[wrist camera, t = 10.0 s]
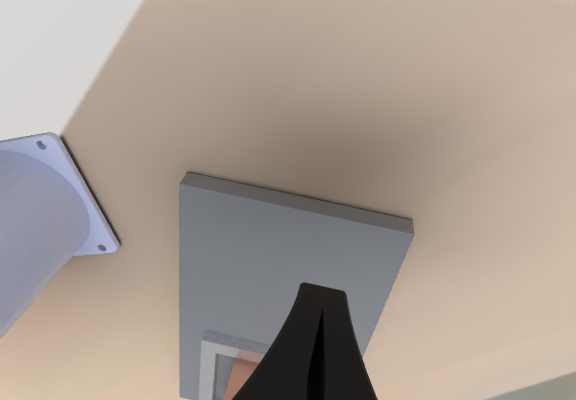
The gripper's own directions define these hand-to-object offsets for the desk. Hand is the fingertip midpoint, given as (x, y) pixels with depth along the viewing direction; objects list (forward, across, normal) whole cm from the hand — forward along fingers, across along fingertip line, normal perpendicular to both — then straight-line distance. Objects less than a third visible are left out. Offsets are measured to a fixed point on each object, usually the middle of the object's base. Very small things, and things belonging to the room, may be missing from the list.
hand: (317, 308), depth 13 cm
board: (+9, +2, +12) cm, 16 cm away
